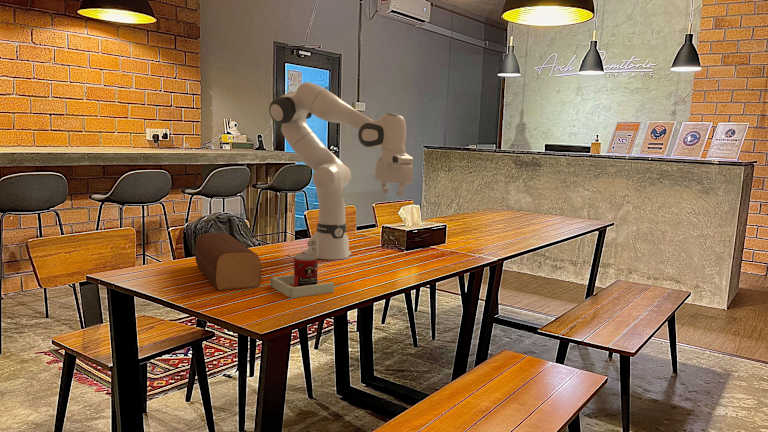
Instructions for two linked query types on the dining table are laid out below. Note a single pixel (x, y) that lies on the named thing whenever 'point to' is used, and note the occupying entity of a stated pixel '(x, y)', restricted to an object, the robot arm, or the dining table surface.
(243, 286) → the bread
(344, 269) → the dining table surface
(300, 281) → the canned food
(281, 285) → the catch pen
